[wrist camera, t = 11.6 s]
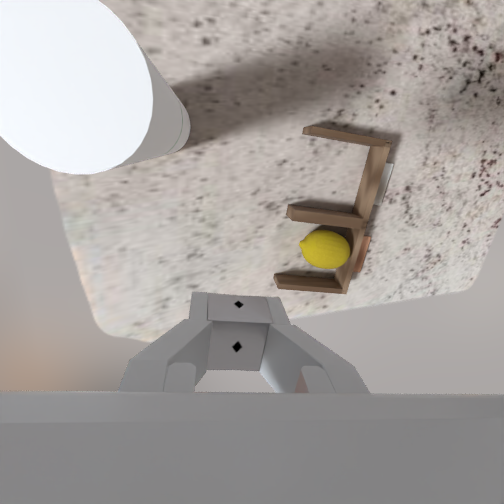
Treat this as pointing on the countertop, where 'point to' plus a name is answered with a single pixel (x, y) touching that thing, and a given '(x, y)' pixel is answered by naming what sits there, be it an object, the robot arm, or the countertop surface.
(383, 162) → the bay rack
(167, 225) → the countertop surface
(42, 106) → the cylindrical container
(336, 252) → the lemon
